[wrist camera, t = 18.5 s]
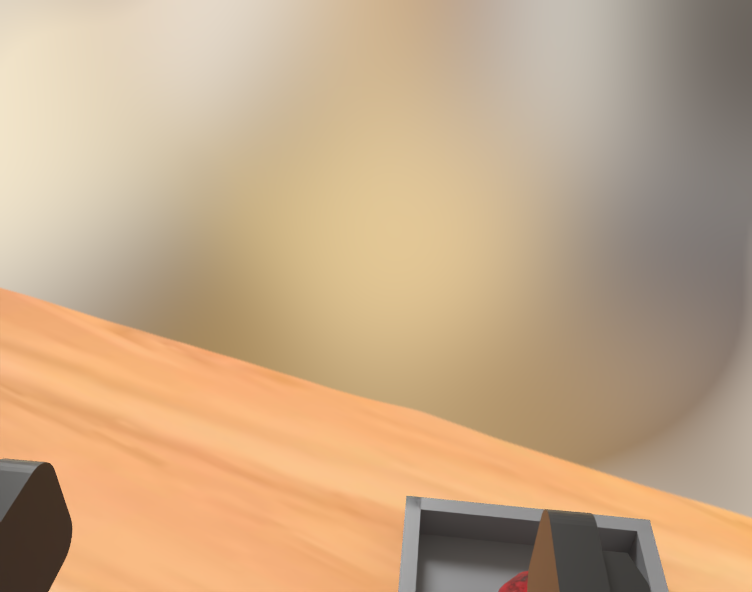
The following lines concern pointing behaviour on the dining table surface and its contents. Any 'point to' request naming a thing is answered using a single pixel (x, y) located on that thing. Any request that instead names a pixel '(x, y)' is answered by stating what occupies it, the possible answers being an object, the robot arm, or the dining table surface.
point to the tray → (498, 545)
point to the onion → (516, 583)
